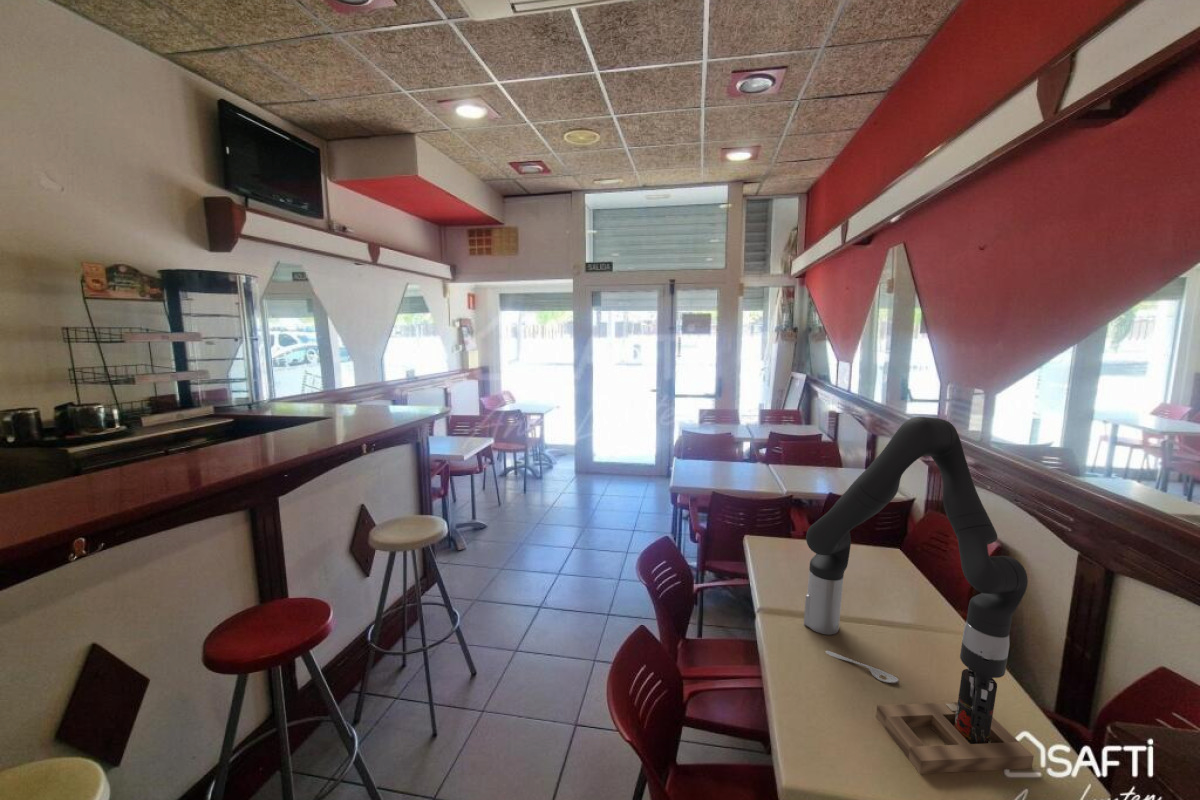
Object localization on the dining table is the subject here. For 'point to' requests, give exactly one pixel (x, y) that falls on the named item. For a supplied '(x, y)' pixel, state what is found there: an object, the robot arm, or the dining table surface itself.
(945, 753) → the wooden frame
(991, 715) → the deodorant
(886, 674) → the spoon
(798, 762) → the dining table surface
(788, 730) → the dining table surface
